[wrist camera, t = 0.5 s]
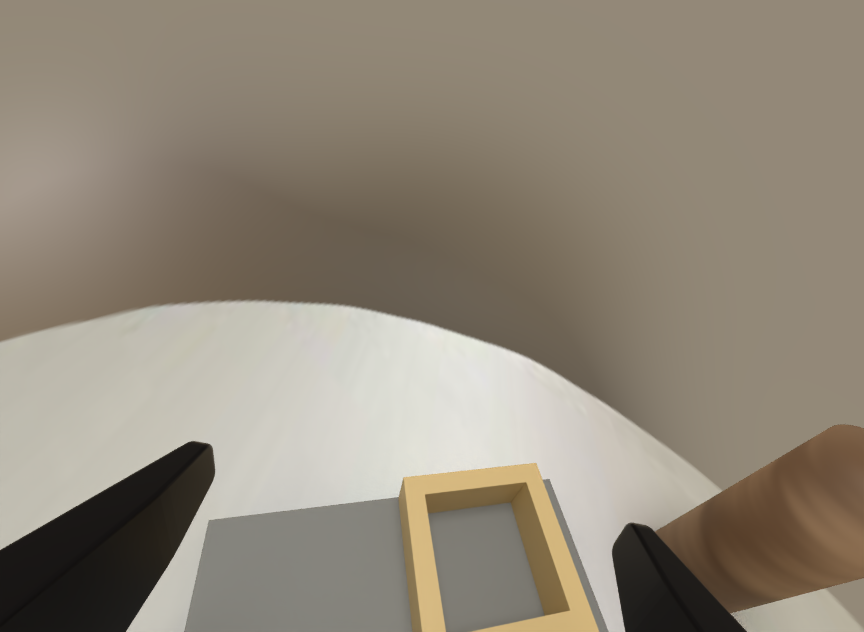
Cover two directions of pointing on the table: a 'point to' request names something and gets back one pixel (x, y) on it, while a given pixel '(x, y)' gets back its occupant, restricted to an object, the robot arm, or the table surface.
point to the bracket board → (402, 563)
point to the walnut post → (781, 525)
